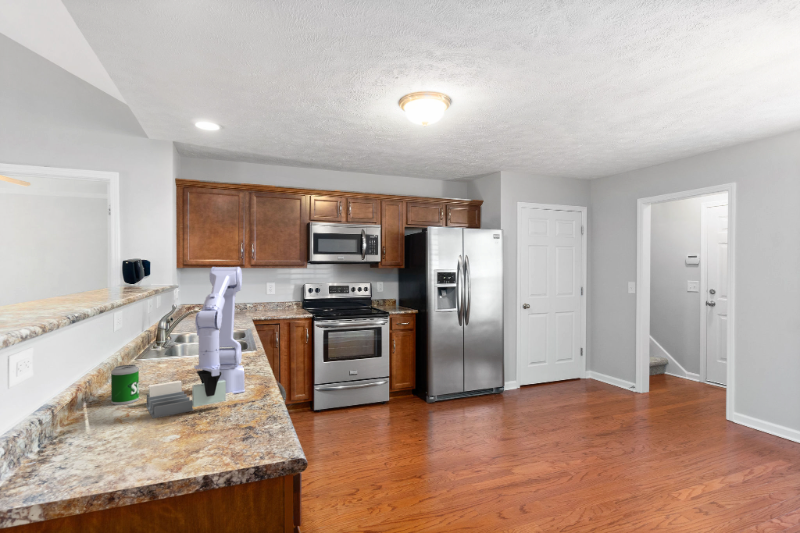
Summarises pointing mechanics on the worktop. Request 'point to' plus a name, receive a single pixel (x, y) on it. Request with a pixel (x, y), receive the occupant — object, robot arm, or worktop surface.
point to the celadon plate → (201, 398)
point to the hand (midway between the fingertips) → (209, 394)
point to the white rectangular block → (165, 388)
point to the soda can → (124, 384)
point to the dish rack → (168, 404)
